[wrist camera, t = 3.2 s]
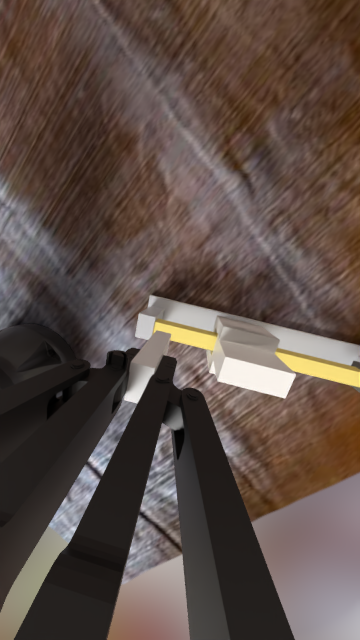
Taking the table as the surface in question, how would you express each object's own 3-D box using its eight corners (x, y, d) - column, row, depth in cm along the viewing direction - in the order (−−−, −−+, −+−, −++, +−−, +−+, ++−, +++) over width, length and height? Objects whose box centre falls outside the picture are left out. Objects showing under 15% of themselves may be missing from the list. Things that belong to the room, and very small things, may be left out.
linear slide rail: (144, 331, 28) (129, 346, 21) (151, 294, 26) (137, 299, 20) (355, 383, 27) (406, 416, 20) (375, 348, 25) (436, 372, 19)
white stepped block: (206, 352, 25) (212, 396, 15) (216, 315, 23) (230, 339, 14) (247, 362, 24) (278, 413, 15) (260, 325, 23) (303, 357, 14)
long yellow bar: (148, 332, 23) (142, 339, 20) (152, 311, 23) (146, 316, 20) (385, 391, 22) (413, 408, 19) (397, 371, 22) (428, 385, 19)
